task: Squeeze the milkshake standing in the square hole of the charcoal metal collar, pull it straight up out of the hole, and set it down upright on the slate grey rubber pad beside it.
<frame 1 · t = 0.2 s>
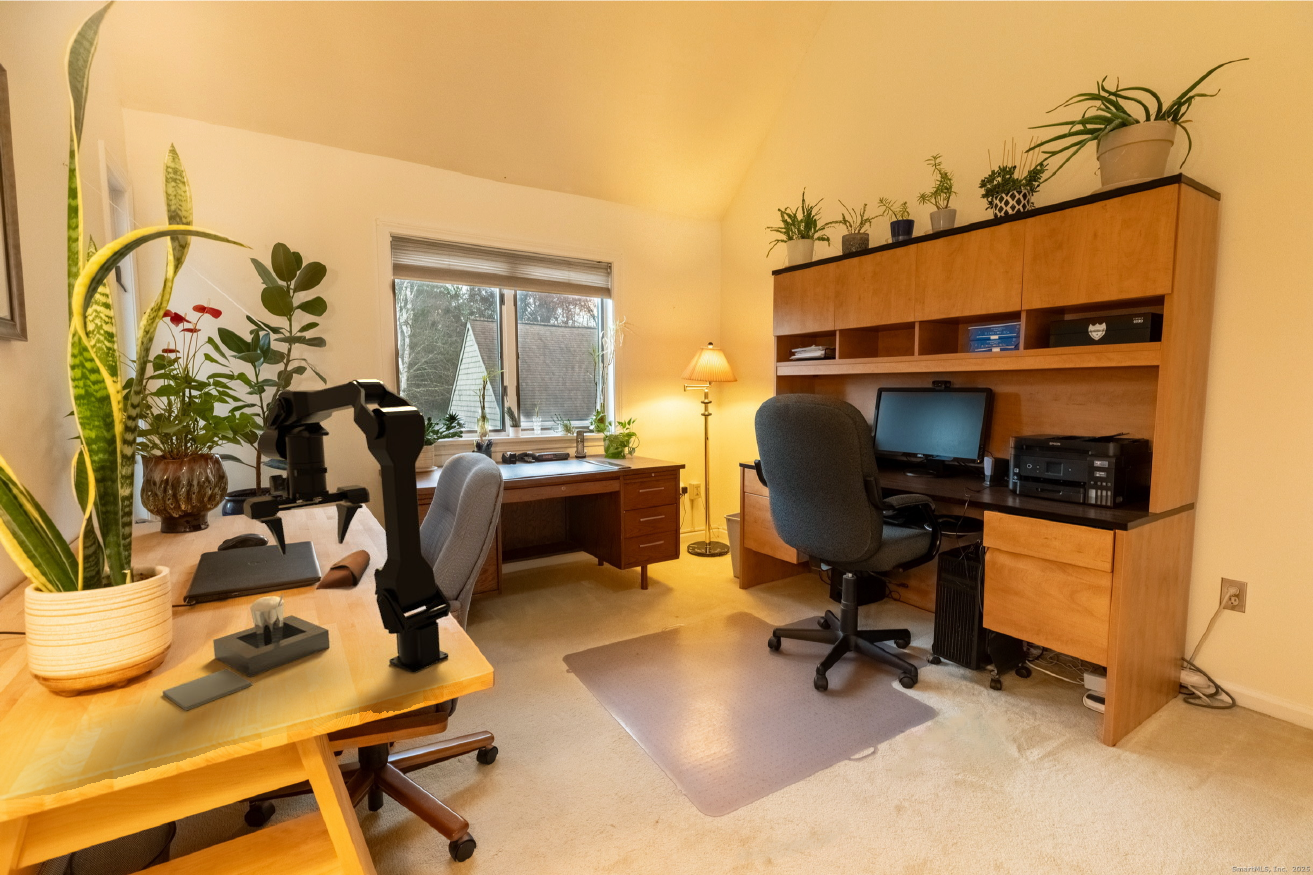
hand: (312, 548, 109), 14 cm above the table, tool pointing down, fingers open, 9 cm apart
pad: (207, 689, 88), on the table
milkshake: (273, 653, 100), on the table
sunglasses case: (345, 578, 139), on the table
collar: (273, 652, 100), on the table
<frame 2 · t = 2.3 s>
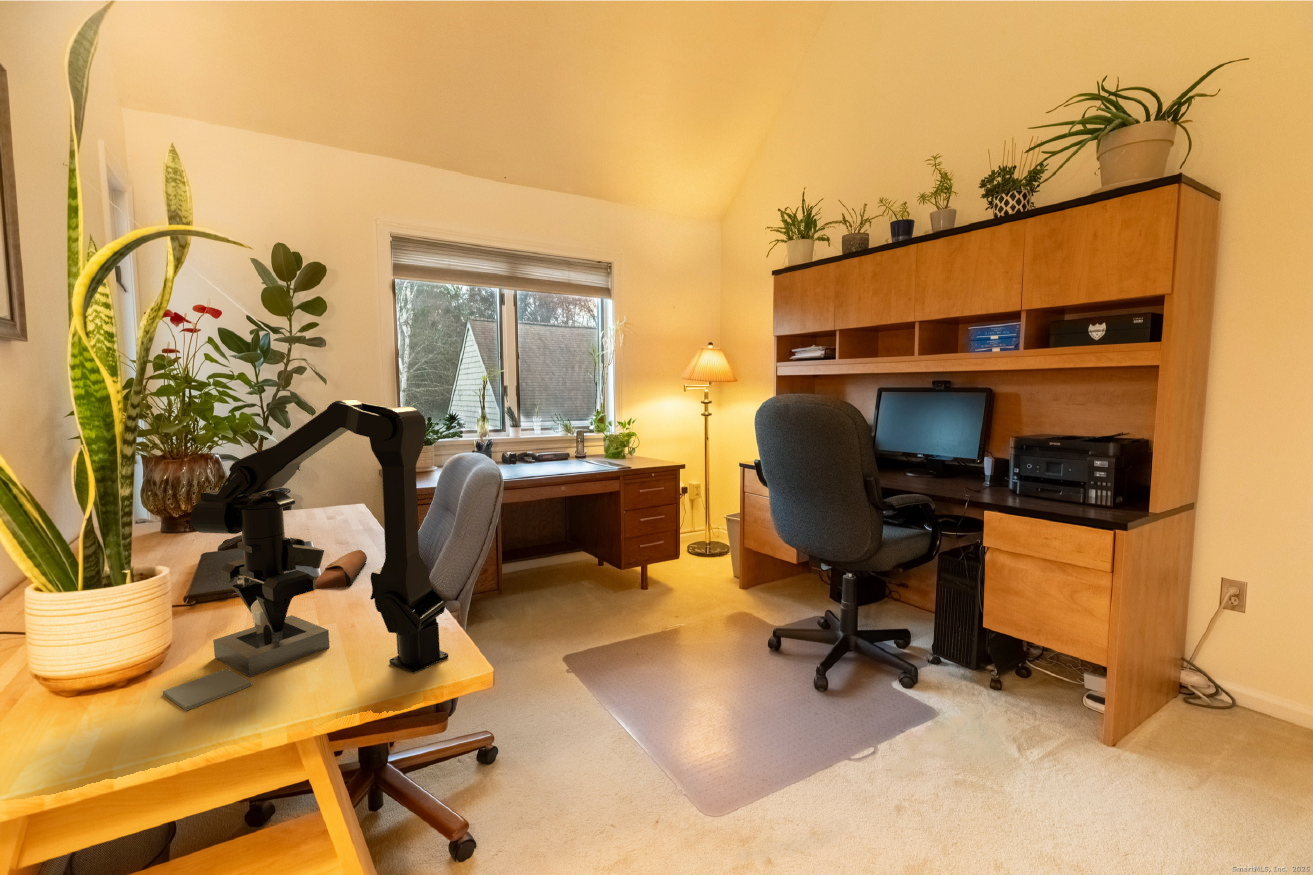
hand: (270, 628, 99), 4 cm above the table, tool pointing down, fingers closed on milkshake, 4 cm apart
milkshake: (273, 653, 100), on the table, touching gripper
sunglasses case: (340, 578, 139), on the table
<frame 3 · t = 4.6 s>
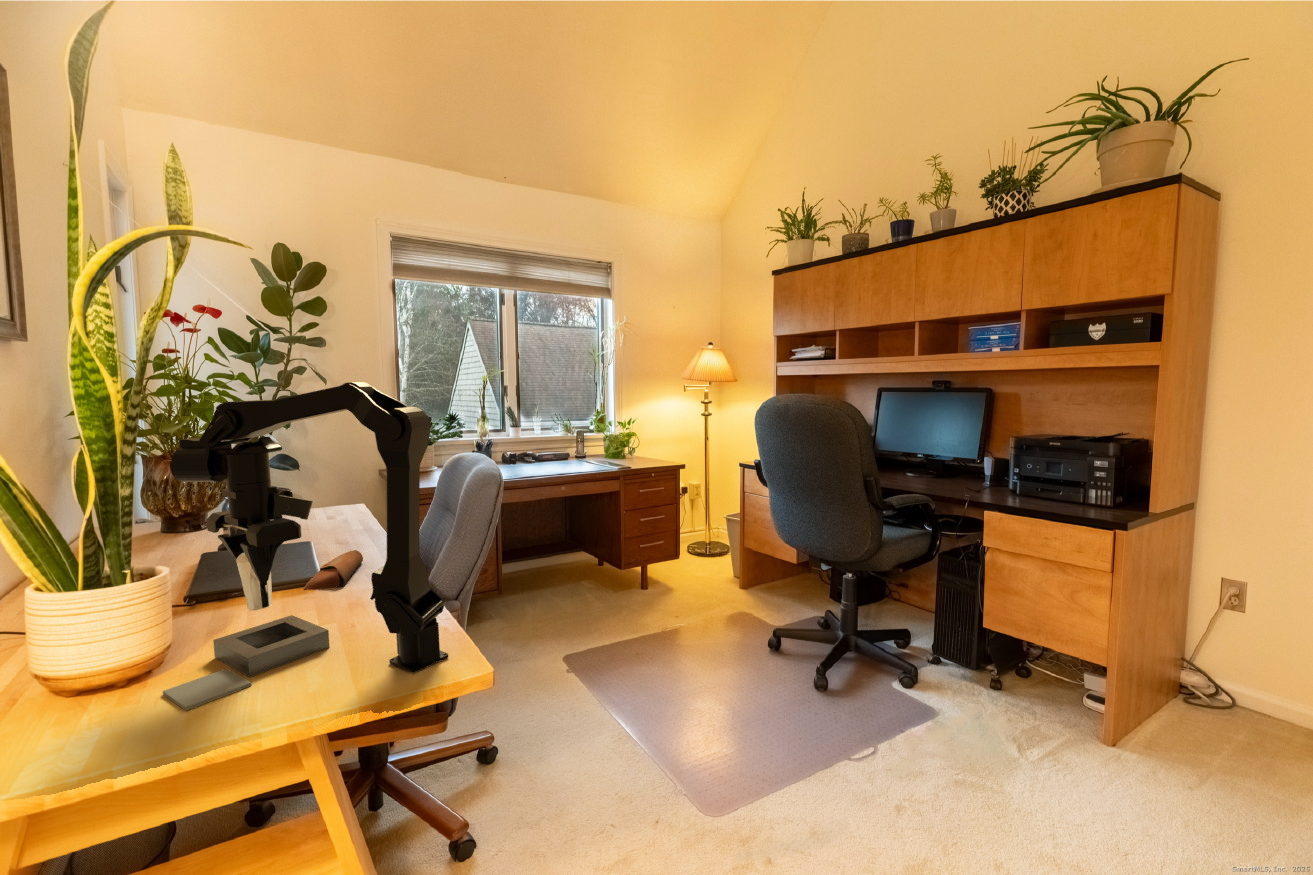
hand: (257, 579, 96), 13 cm above the table, tool pointing down, fingers closed on milkshake, 4 cm apart
milkshake: (262, 608, 96), point 8 cm above the table, touching gripper
sunglasses case: (335, 578, 139), on the table
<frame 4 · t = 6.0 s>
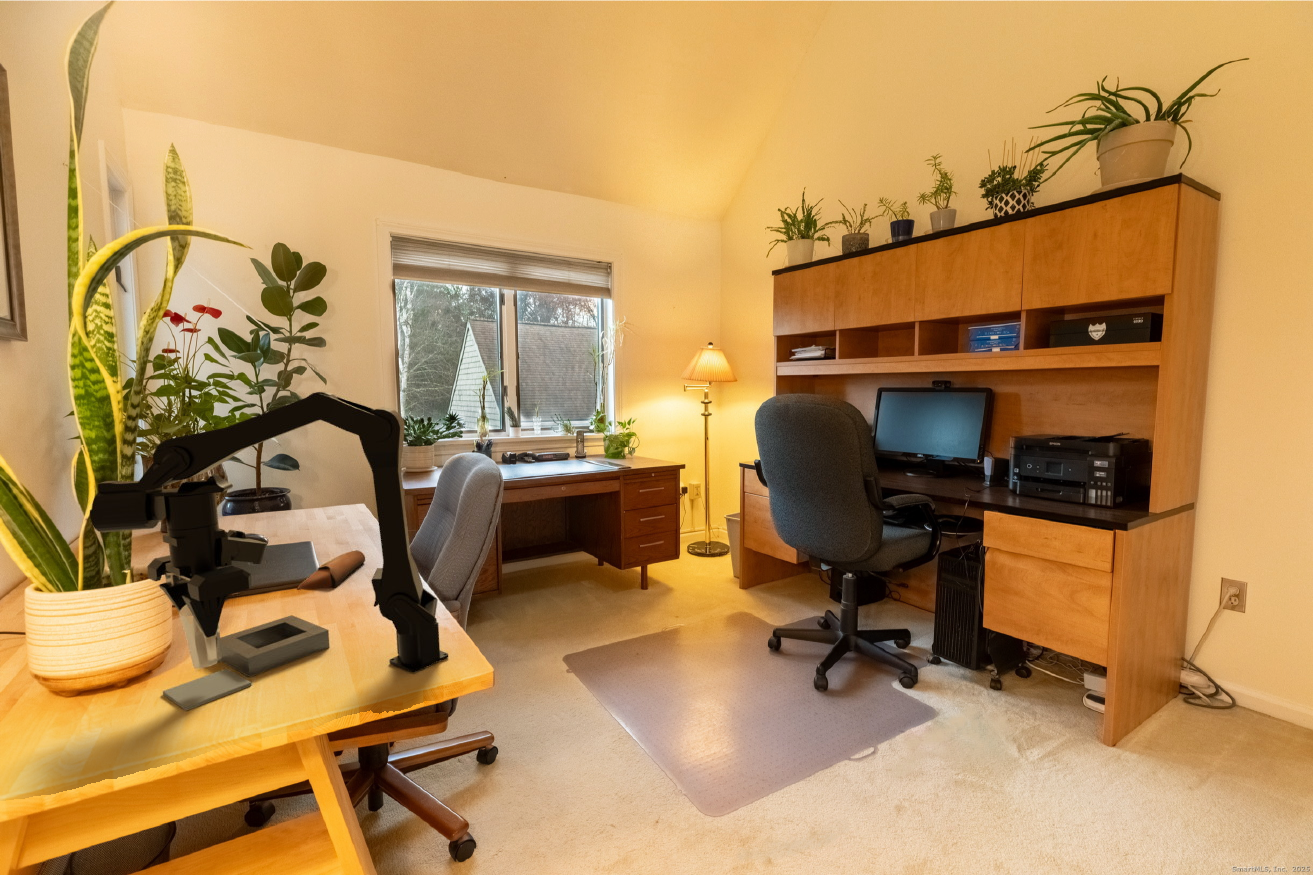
hand: (203, 632, 87), 8 cm above the table, tool pointing down, fingers closed on milkshake, 4 cm apart
milkshake: (210, 664, 87), point 4 cm above the table, touching gripper
when the fingers open (6 cm above the table, at t = 7.2 s): milkshake stays where it is, resting on pad.
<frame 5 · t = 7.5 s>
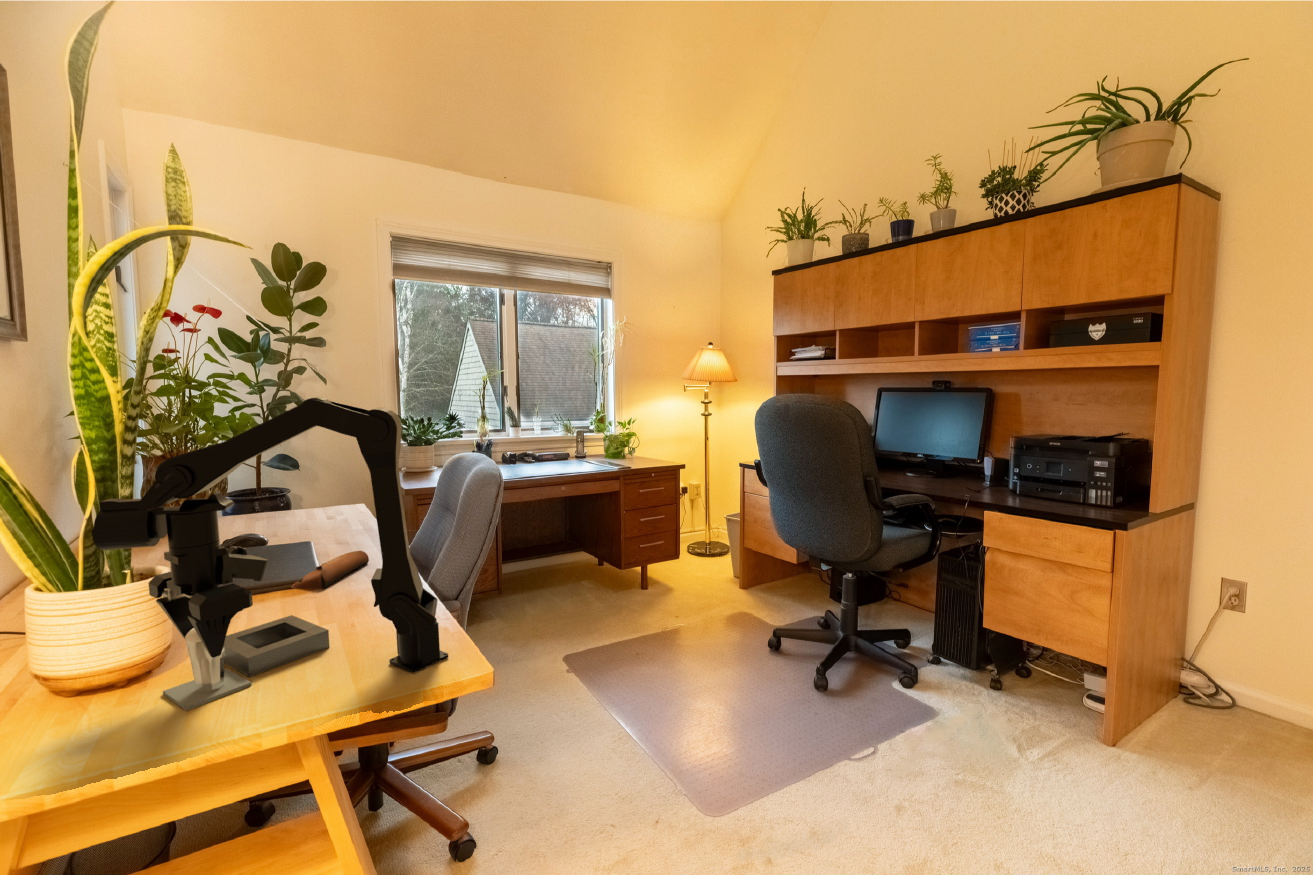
hand: (204, 649, 87), 6 cm above the table, tool pointing down, fingers open, 7 cm apart
milkshake: (212, 689, 87), resting on pad
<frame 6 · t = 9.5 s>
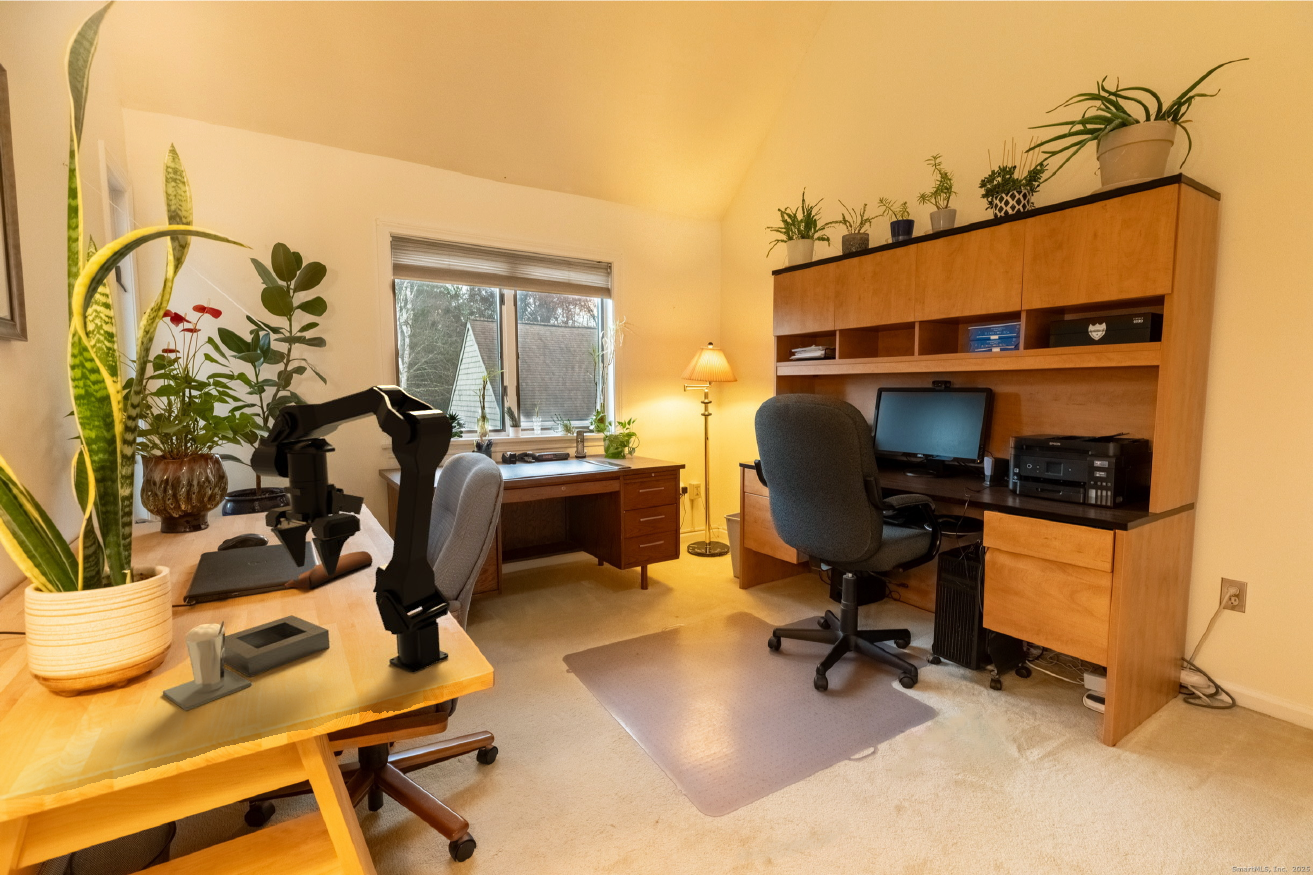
hand: (315, 570, 103), 12 cm above the table, tool pointing down, fingers open, 9 cm apart
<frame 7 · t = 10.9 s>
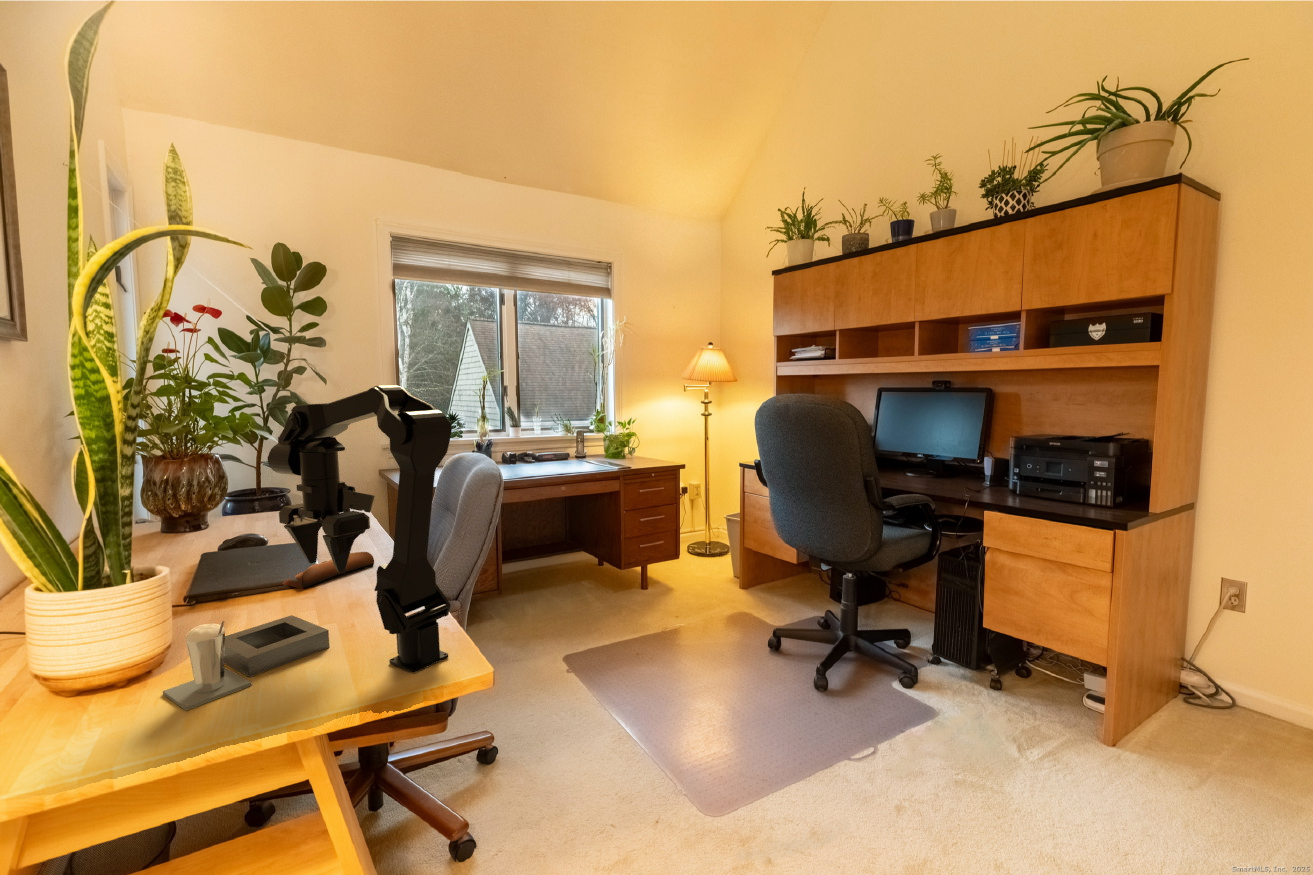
hand: (326, 567, 105), 12 cm above the table, tool pointing down, fingers open, 9 cm apart
at the end: milkshake 1.1 cm off-centre on the pad, point 0.3 cm above the pad's base; milkshake tilted 0°; the gripper is holding nothing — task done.
